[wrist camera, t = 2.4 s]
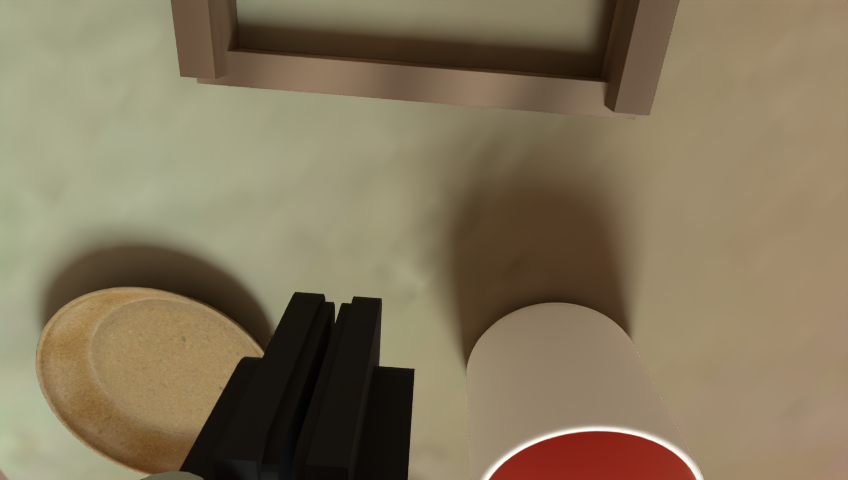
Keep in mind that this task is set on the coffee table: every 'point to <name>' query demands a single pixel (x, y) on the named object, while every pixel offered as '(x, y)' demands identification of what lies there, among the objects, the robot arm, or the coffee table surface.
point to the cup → (567, 403)
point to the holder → (434, 67)
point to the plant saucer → (138, 372)
